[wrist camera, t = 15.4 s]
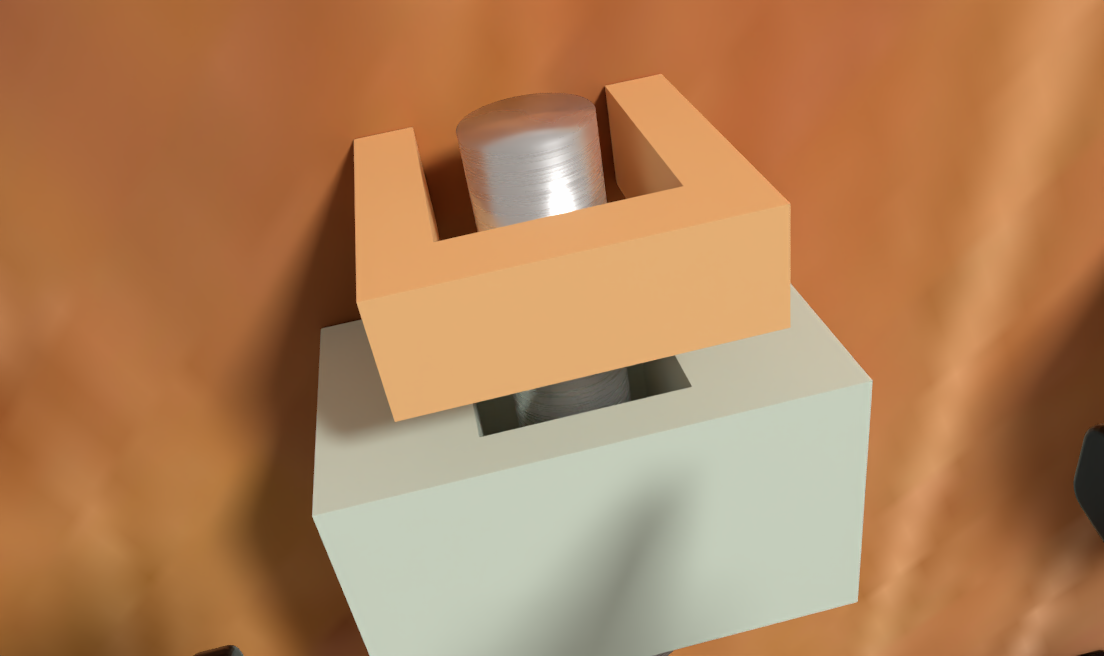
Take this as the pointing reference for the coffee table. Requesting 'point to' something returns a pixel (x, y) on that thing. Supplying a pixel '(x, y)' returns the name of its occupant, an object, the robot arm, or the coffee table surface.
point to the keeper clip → (570, 264)
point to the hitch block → (598, 503)
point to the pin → (540, 207)
